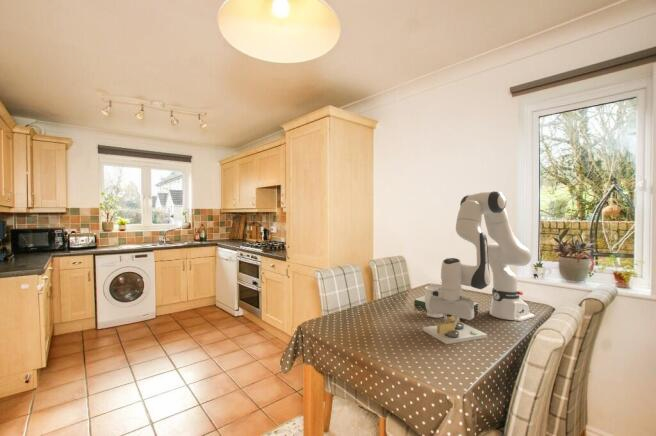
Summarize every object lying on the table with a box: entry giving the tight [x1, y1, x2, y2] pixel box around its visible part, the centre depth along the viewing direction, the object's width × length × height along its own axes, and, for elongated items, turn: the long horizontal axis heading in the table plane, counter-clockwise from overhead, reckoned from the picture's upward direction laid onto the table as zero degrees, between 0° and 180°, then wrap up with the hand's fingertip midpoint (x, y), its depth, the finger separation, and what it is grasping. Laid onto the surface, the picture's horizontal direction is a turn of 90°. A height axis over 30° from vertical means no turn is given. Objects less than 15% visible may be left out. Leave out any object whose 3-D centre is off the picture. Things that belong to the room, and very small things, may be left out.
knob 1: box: [436, 321, 459, 338], centre depth 133 cm, size 10×6×6 cm, turn 109°
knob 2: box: [447, 315, 465, 329], centre depth 142 cm, size 10×6×6 cm, turn 128°
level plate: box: [422, 321, 488, 345], centre depth 139 cm, size 22×16×2 cm
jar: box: [424, 285, 444, 319], centre depth 164 cm, size 11×10×15 cm
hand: (450, 324), depth 140 cm, fingers closed
